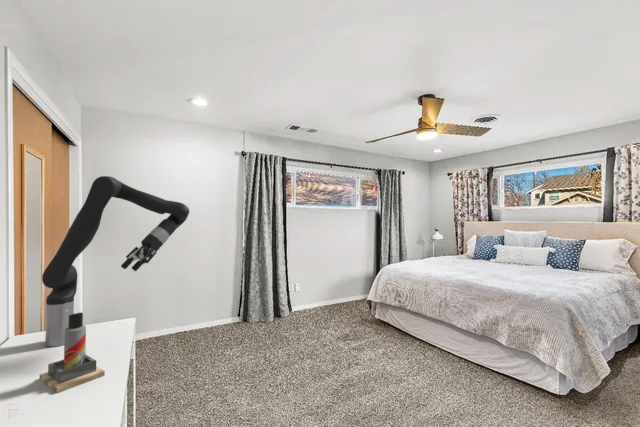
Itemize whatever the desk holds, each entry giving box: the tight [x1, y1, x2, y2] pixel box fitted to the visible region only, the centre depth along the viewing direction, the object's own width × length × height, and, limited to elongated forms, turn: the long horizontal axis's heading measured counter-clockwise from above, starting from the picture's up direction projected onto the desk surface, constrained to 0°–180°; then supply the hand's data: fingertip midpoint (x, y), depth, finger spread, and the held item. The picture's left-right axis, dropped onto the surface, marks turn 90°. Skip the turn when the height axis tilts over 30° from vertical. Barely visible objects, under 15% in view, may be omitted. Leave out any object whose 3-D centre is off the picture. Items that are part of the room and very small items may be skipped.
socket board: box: [38, 354, 105, 394], centre depth 107 cm, size 15×13×5 cm
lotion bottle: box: [63, 312, 87, 370], centre depth 107 cm, size 6×6×20 cm
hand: (128, 268), depth 130 cm, fingers open, 8 cm apart
